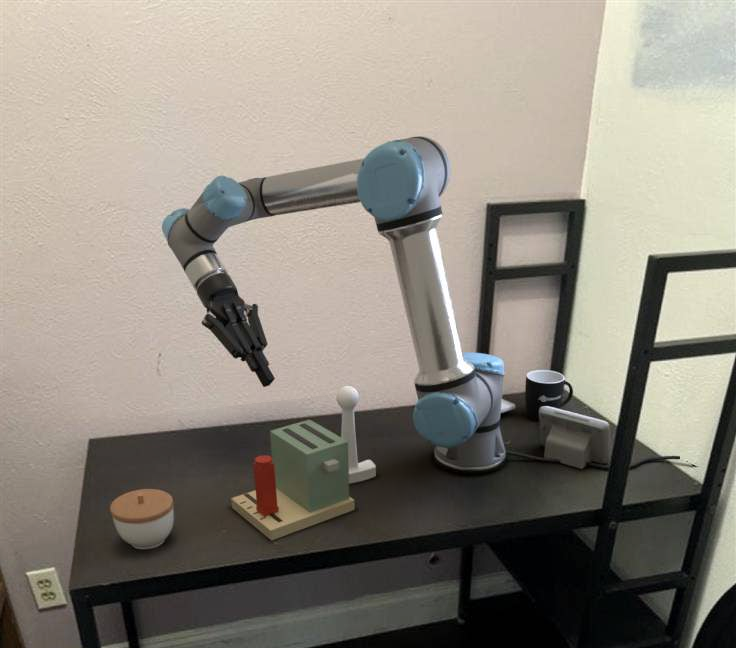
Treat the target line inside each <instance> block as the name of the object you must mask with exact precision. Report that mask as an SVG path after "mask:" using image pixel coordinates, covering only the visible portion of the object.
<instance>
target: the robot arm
mask: <svg viewBox="0 0 736 648" xmlns="http://www.w3.org/2000/svg"><path fill="white" fill-rule="evenodd" d="M451 170H452V168H451V162H450V158H449V156H448V153H447V151H446V150H445V148H444V147H442V145H441V144H440V143H438V142H437V141H436V140H434V139H432V138H429V137H426V136H421V135H419V136H418V135H417V136H411V137H407V138H401V139H394V140H388V141H387V142H384V143H382V144H380V145H378V146H376V147H374V148H373V149H372V150H370V151H369V152H368V153H367V154H366V155H365V157H364V158H359V159H354V160H348V161H342V162H337V163H332V164H327V165H321V166H317V167H311V168H306V169H300V170H295V171H290V172H285V173H279V174H274V175H269V176H265V177H254V178H250V179H249V178H248V179H246V180H242V181H239V182H237V181H236V180H235V179H234V178H232V177H227V176H226V175H217V176H216V177H214V178H213V180H212V181H211V182H209V184H207V185H206V186H205V188H204V189H203V191H202V193H201V194H200V195H199V197H198V198H197V199H196V201H195V202H194V204H192V206H191V207H190V208H184V207H183V208H178V209H176V210H173V211H172V212H171V213H170V214H168V215H166V216H165V218H164V219H162V223H161V231H162V234H163V235H164V238H165V240H166V242H167V245H168V247H169V249H171V251H172V253H173V254H174V256H175V257H176V259H177V261H178V262H179V264H180V265H181V268H182V270H183V271H184V274H185V275H186V277H187V279H188V280H189V282H190V284H191V286H192V287H193V289H194V290H195V292H196V295H197V296H198V298H199V301H200V302H201V304H202V306H203V307H204V308H205V309H206V314H205V315H204V317H203V319H202V320H201V325H202V326H203V327H205V328H206V329H208V330H209V331H210V332H211V333H212V334H213V335H214V336H215V338H216V339H217V340H218V341H219V342H220V343H221V344H222V346H223V347H224V349H225V350H226V351H227V352H228V353H229V354H230V355H231V356H232V358H234V359H235V360H236V359H238V358H240V361H241V362H245V363H246V364H247V366H248V368H249V370H250V371H251V372H252V373H255V374H256V377H257V378H258V380H259V382H260V384H261V385H262V387H263V388H265V387H269V386H270V385H271V384H273V382H274V381H275V379H276V378H275V376H274V374H273V372H272V371H271V369H270V368H269V366H270V362H269V360H268V359H267V357H266V355H265V353H264V350H265V349H266V347H267V346H268V341H267V337H266V335H265V332H264V329H263V325H262V322H261V320H260V319H261V318H260V316H259V306H258V304H257V303H253V304H252V305H251V304H249V303H245V300H244V299H243V298H242V297H241V296H240V294H239V292H238V288H237V286H236V284H235V283H234V280H233V279H232V278H231V276H230V274H228V272H229V271H228V270H227V268H226V266H225V264H224V263H223V262H222V259H221V258H220V257H219V255H218V253H217V251H216V249H215V248H214V244H215V243H216V242H217V241H218V240H219V239H220V238H221V237H222V235H223V234H224V233H225V232H226V231H227V230H228V229H229V228H231V227H234V226H237V225H240V224H244V223H247V222H249V221H250V222H251V221H253V220H258V219H265V218H271V217H276V216H280V215H281V216H282V215H286V214H287V215H288V214H294V213H301V212H307V211H313V210H320V209H326V208H332V207H339V206H346V205H351V204H358V203H360V204H361V206H362V207H363V208H364V210H365V211H366V212H367V213H369V215H370V216H372V217H374V221H375V226H376V229H377V233H378V234H379V235H380V236H382V237H383V238H385V239H386V240H387V241H388V243H389V246H390V251H391V256H392V260H393V263H394V268H395V273H396V276H397V281H398V285H399V289H400V294H401V298H402V302H403V306H404V310H405V315H406V319H407V323H408V328H409V332H410V336H411V341H412V344H413V350H414V353H415V357H416V362H417V366H418V371H417V374H416V375H415V377H414V379H413V384H414V388H415V393H416V395H417V402H416V404H415V406H414V409H413V413H412V421H413V424H414V427H415V429H416V431H417V433H418V434H419V435H420V436H421V437H422V438H423V439H424V440H425V441H428V443H430V444H431V445H434V452H433V453H434V454H433V456H434V457H433V458H434V462H435V463H436V464H437V465H438V466H439V467H441V468H442V469H444V470H447V471H450V472H452V473H457V474H461V475H462V474H463V475H484V474H489V473H493V472H495V471H498V470H500V469H502V467H503V466H505V464H506V456H507V455H509V456H515V457H519V458H525V459H528V460H531V461H539V462H546V463H559V464H561V463H560V462H561V461H560V460H558V459H550V458H544V457H541V456H540V457H539V456H535V455H530V454H527V453H526V454H525V453H521V452H516V451H510V450H506V447H505V444H504V440H503V436H502V435H503V434H502V432H501V427H500V423H501V414H502V413H501V402H502V399H503V389H504V378H505V375H506V373H505V363H504V361H503V359H501V358H500V357H498V356H496V355H492V354H487V353H482V352H464V351H463V347H462V343H461V338H460V333H459V329H458V323H457V319H456V313H455V310H454V306H453V301H452V299H453V298H452V295H451V290H450V285H449V281H448V276H447V272H446V267H445V266H446V265H445V263H444V258H443V253H442V249H441V244H440V239H439V234H438V225H439V224H440V221H441V220H442V218H443V210H442V204H441V199H440V198H441V197H442V195H443V194H444V192H445V191H446V190H447V188H448V186H449V183H450V179H451V172H452V171H451ZM680 456H681V455H662V456H650V457H644V458H642V459H639V460H637V461H635V462H633V463H630V464H631V466H630V468H629V469H632V468H635V467H637V466H639V465H641V464H643V463H646V462H652V461H664V460H665V461H666V460H679V459H680ZM686 462H687V463H689V462H688V461H686ZM689 464H690V465H692V467H695V468H697V467H696V466H695V465H693V464H691V463H689ZM586 466H587V467H594V468H598V469H603V470H604V469H605V470H610V469H609V466H610V465H607V464H601V463H597V462H586Z"/></svg>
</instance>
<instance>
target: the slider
mask: <svg viewBox="0 0 736 648" xmlns="http://www.w3.org/2000/svg"><path fill="white" fill-rule="evenodd" d="M252 465H253V466H252V467H253V476H254V486H255V490H256V499H257V506H256V510H257V511H258V512H259V513H260V514H262V515H263V516H267V515H269V514H272V513H275V512H278V511H279V507H278V506H277V494H276V481H275V468H274V463H273V462H272V456H270V455H264V454H263V455H259V456H257V457H255V458H254V462H253V463H252Z"/></svg>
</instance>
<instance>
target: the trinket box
mask: <svg viewBox="0 0 736 648" xmlns="http://www.w3.org/2000/svg"><path fill="white" fill-rule="evenodd" d="M109 511H110V514H111V516H112V521H113V524H114V525H113V526H114V527H115V530H116V532H117V534H118V535H119V537H120V538H121V539H122V540H123V541H124V542H125V543H127V544H129V545H130V546H131V547H133V548H134V549H138V550H150V549H155V548H158V547H160V546H161V545H163V544H164V543H165V541H166V539H167V538H168V537H169V535H170V534H171V532H172V530H173V527H174V522H175V510H174V498H173V496H172V495H171V494H170V493H168V492H166V491H164V490H162V489H161V490H160V489H155V488H142V489H135V490H132V491H129V492H128V491H127V492H125V493H123V494H121V495H120V496H117V497H116V498H115V499H114V500H113V501H112V502H111V503H110V506H109Z"/></svg>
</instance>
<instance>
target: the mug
mask: <svg viewBox="0 0 736 648" xmlns="http://www.w3.org/2000/svg"><path fill="white" fill-rule="evenodd" d="M565 385H566V386H567V387H568V391H569V392H568V395H567V397H566V399H565V400H563V401H562V398H563V395H564V394H563V393H564V390H565V389H564V388H565ZM524 388H525V389H524V398H525V400H524V401H525V411H526V415H527V417H528V418H530V419H531V420H533V421H536V422H537V421H538V422H540V421H539V409H540V407H542V406H549V407H553V408H557V409H561V408H562V407H564V406H565V405H567V404H568V403H569V402H570V401H571V400H572V398H573V395H574V387H573V386H572V384H571V383H570V382H568V381H567V380H566V378H565V376H564V374H562V373H560V372H558V371H555V370H547V369H537V370H532V371H529V372H528V373H526V377H525V387H524Z"/></svg>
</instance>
